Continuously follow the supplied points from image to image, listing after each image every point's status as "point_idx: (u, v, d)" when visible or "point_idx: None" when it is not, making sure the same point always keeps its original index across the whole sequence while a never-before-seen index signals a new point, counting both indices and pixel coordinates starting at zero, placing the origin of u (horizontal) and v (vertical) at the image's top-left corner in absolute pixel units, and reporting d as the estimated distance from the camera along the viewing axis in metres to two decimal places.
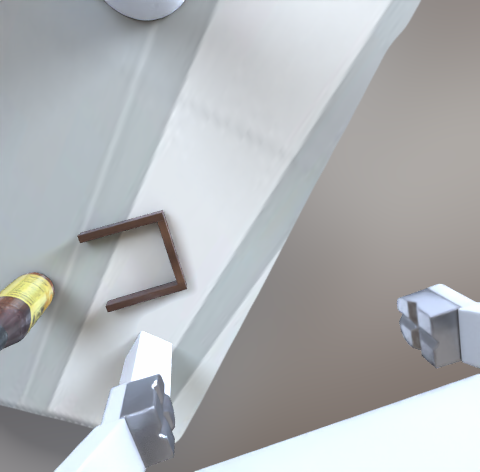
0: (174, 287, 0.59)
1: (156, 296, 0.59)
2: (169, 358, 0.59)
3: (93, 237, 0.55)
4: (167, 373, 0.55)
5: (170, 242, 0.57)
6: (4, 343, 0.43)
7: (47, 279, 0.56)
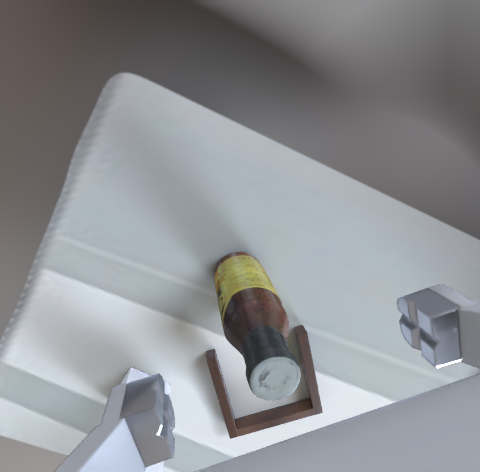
0: (233, 427, 0.49)
1: (223, 409, 0.48)
2: None
3: (303, 348, 0.47)
4: None
5: (288, 421, 0.50)
6: None
7: None
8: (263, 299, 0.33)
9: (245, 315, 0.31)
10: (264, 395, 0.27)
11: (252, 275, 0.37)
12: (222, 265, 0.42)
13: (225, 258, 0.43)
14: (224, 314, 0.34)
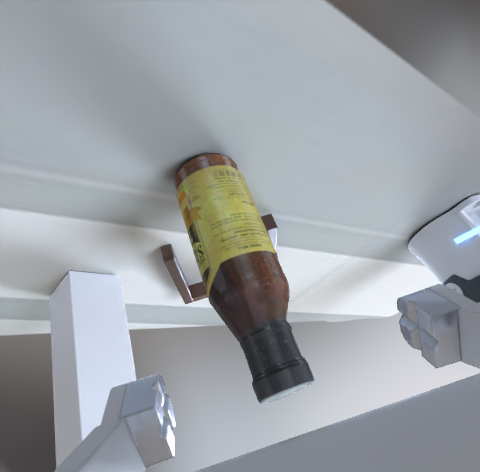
0: (189, 297, 0.50)
1: (180, 289, 0.47)
2: None
3: None
4: None
5: None
6: None
7: None
8: (266, 278, 0.25)
9: (245, 305, 0.25)
10: (271, 400, 0.25)
11: (241, 220, 0.27)
12: (190, 182, 0.30)
13: (192, 166, 0.30)
14: (211, 286, 0.26)
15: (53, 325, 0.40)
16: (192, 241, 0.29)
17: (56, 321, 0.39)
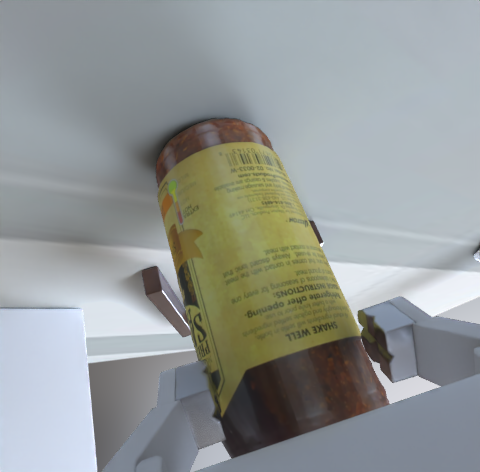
0: (187, 330, 0.35)
1: (174, 324, 0.33)
2: None
3: None
4: None
5: None
6: None
7: None
8: None
9: None
10: None
11: (290, 263, 0.12)
12: (182, 176, 0.15)
13: (186, 143, 0.15)
14: (222, 417, 0.12)
15: None
16: (184, 298, 0.14)
17: None
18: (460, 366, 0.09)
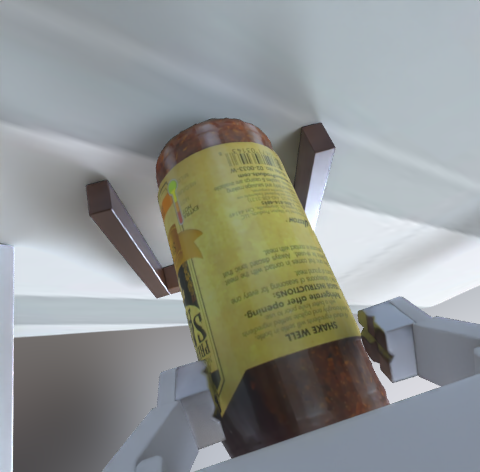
0: (161, 288, 0.28)
1: (141, 274, 0.25)
2: None
3: (315, 176, 0.21)
4: None
5: None
6: None
7: None
8: None
9: None
10: None
11: (290, 263, 0.12)
12: (182, 176, 0.15)
13: (186, 143, 0.15)
14: (222, 417, 0.12)
15: None
16: (184, 298, 0.14)
17: None
18: (460, 366, 0.09)
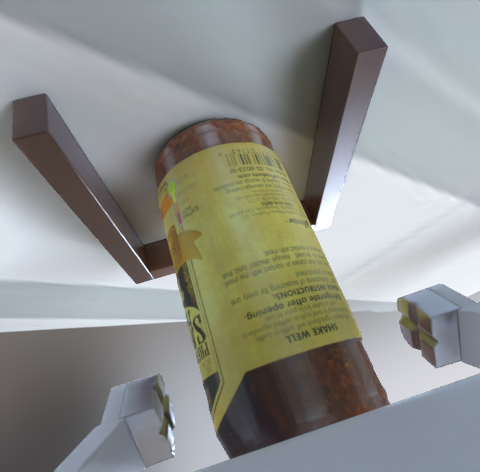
0: (141, 269, 0.22)
1: (111, 248, 0.19)
2: None
3: (352, 100, 0.15)
4: None
5: None
6: None
7: None
8: None
9: None
10: None
11: (290, 264, 0.12)
12: (181, 177, 0.15)
13: (185, 143, 0.15)
14: (222, 420, 0.12)
15: None
16: (184, 300, 0.14)
17: None
18: None
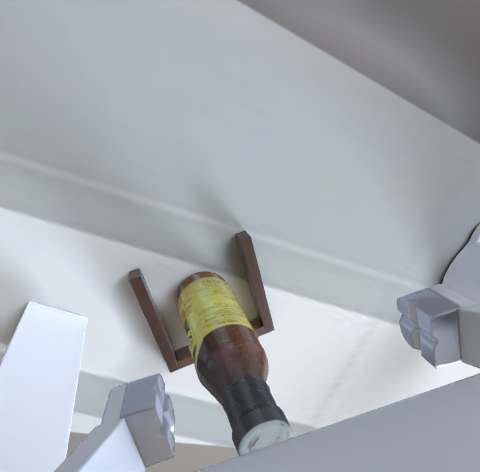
0: (172, 358, 0.42)
1: (158, 339, 0.40)
2: None
3: (247, 256, 0.40)
4: None
5: None
6: None
7: None
8: (239, 341, 0.30)
9: (222, 364, 0.28)
10: None
11: (222, 306, 0.34)
12: (185, 291, 0.38)
13: (187, 281, 0.39)
14: (197, 359, 0.31)
15: None
16: (186, 334, 0.35)
17: None
18: None
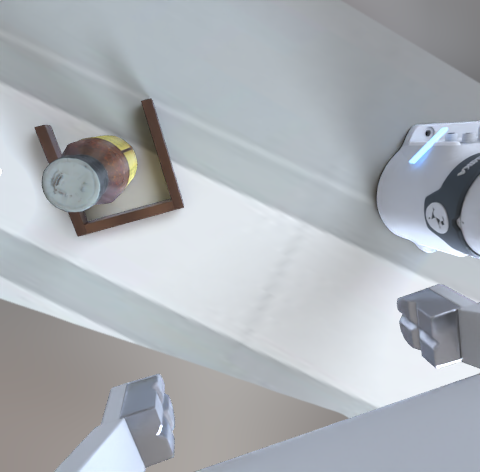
0: (79, 220, 0.44)
1: None
2: None
3: (149, 119, 0.42)
4: None
5: (144, 216, 0.45)
6: None
7: None
8: (92, 140, 0.32)
9: (68, 150, 0.30)
10: (62, 204, 0.26)
11: None
12: None
13: None
14: None
15: None
16: None
17: None
18: None
